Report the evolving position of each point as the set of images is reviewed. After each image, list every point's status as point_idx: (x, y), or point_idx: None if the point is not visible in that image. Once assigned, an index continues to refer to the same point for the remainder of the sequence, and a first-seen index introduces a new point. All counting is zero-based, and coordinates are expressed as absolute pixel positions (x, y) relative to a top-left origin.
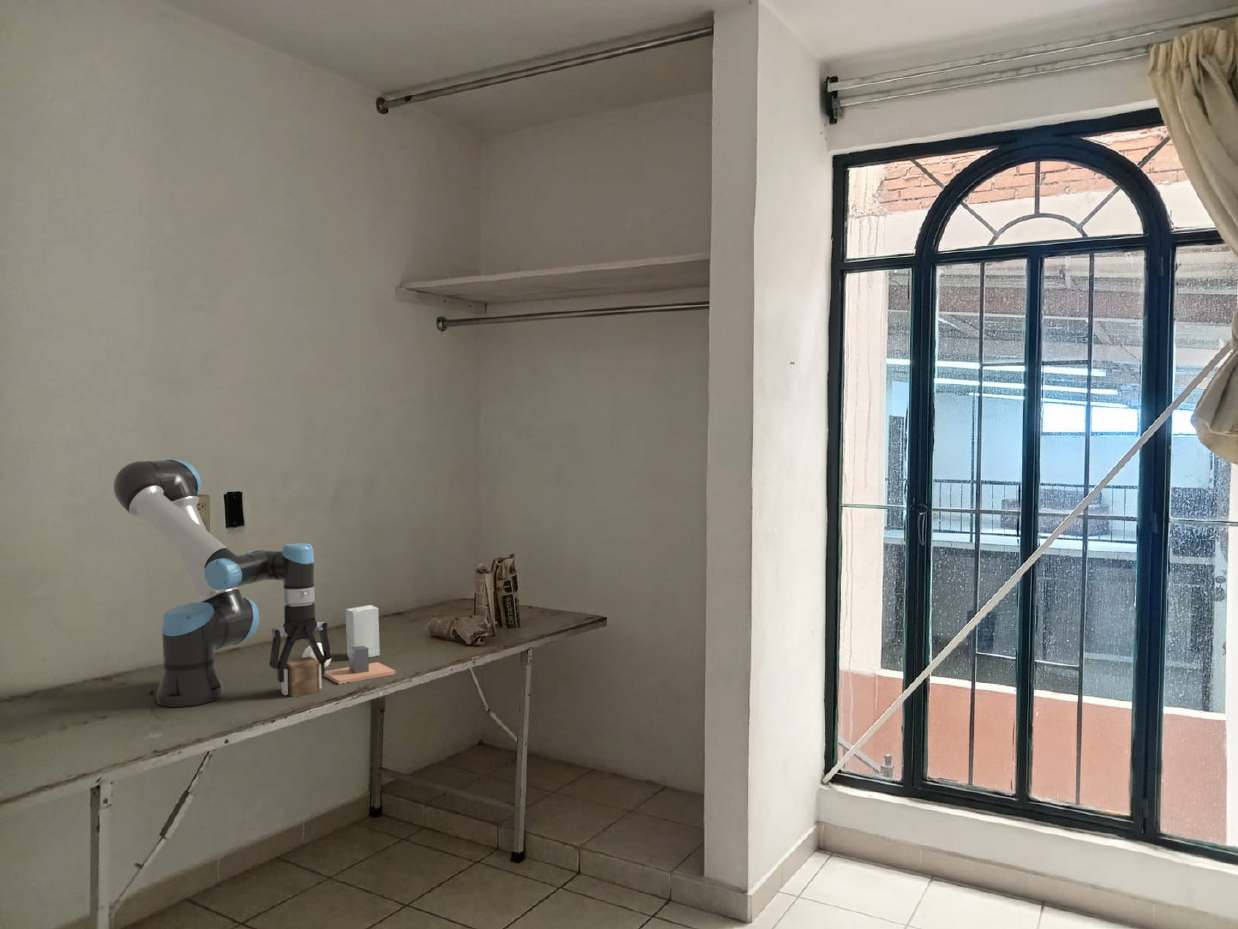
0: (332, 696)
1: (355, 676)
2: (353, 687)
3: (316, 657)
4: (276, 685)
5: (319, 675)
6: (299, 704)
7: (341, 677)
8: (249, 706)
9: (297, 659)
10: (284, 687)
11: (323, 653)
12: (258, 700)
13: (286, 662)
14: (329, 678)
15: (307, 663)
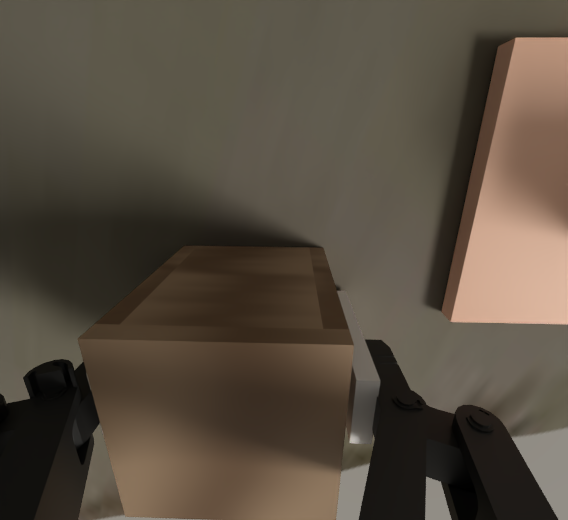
0: None
1: (560, 302)
2: (457, 387)
3: (377, 430)
4: (176, 94)
5: None
6: None
7: (500, 271)
8: (22, 369)
9: (212, 389)
10: None
11: (466, 446)
12: (59, 316)
13: (102, 421)
14: (472, 178)
15: (246, 518)
